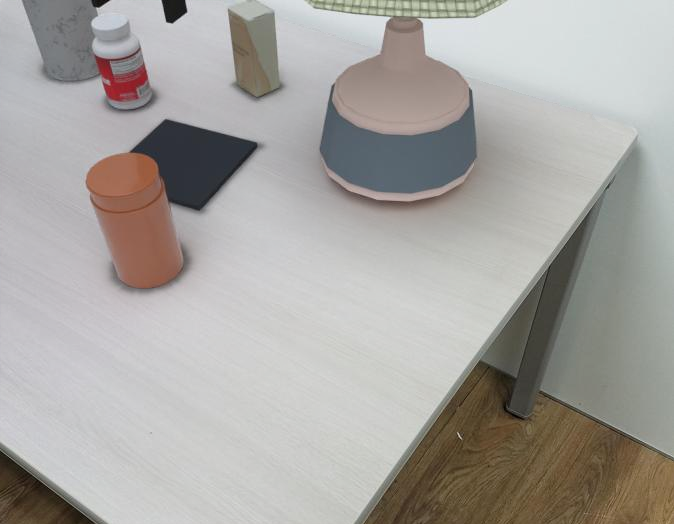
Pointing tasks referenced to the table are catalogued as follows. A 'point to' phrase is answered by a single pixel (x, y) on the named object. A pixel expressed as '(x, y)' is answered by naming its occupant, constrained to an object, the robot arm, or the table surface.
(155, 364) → the table surface
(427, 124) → the desk lamp
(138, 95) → the pill bottle
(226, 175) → the coaster
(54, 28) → the gray plant pot
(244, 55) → the box
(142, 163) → the jar
